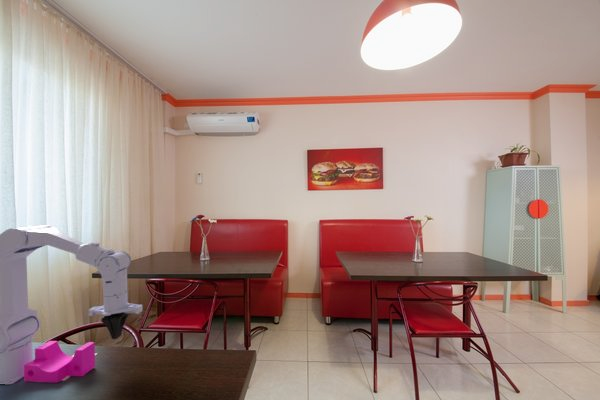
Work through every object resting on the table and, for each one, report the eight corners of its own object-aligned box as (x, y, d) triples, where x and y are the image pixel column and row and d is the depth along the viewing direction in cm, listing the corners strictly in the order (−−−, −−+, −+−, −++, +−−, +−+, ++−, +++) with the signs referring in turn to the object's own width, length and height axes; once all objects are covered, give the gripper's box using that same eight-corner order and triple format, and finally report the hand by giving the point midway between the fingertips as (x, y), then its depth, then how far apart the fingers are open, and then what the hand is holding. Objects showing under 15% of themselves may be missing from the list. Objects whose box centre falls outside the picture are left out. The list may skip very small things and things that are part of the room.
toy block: (24, 381, 64) (23, 354, 64) (50, 365, 70) (49, 340, 70) (72, 383, 63) (72, 356, 63) (95, 366, 69) (94, 342, 69)
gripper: (78, 299, 65) (79, 346, 65) (131, 297, 66) (132, 343, 66) (99, 289, 72) (100, 332, 72) (146, 287, 73) (147, 330, 73)
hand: (116, 337), depth 69 cm, fingers closed
